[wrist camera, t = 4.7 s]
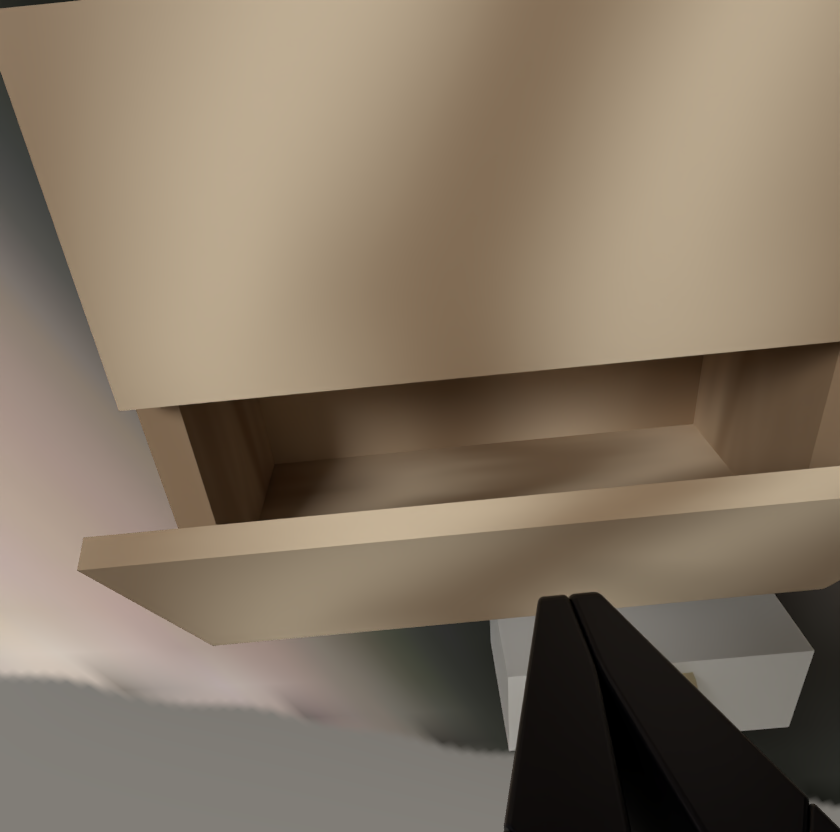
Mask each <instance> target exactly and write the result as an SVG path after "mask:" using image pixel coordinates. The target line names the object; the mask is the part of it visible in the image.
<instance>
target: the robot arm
mask: <svg viewBox="0 0 840 832" xmlns="http://www.w3.org/2000/svg"><path fill="white" fill-rule="evenodd" d="M504 832H840V828H839V827H838V826H837V825H836V824H835V823H834V822H832V820H831V819H830V818H829V817H828V816H827V815H826V814H825V813H824V812H823V811H822V810H821V809H820V808H819V807H818V806H817V805H815V804H810V805H809V799H808V797H807V796H806V795H805V794H804V793H803V792H802V791H801V790H800V789H799V788H798V787H797V786H796V785H795V784H794V783H793V782H792V781H791V780H790V779H789V778H788V777H787V776H786V775H785V774H784V773H783V772H782V771H781V770H780V769H779V768H778V767H777V766H776V765H774V764H773V763H772V762H771V761H770V760H769V759H768V758H767V757H766V756H765V755H764V754H763V753H762V752H761V751H760V750H759V749H758V748H757V747H756V746H755V745H754V744H753V743H752V742H751V741H750V740H749V739H748V738H747V737H746V736H745V735H744V734H743V733H742V732H741V731H740V730H739V729H738V728H737V727H736V726H735V725H734V724H733V723H732V722H731V721H730V720H729V719H728V718H727V717H726V716H725V715H724V714H723V713H722V712H721V711H720V710H719V709H718V708H716V707H715V706H714V705H713V704H712V703H711V702H710V701H709V700H708V699H707V698H706V697H705V696H704V695H703V694H702V693H701V692H700V691H699V690H698V689H697V688H696V687H695V686H694V685H693V684H692V683H691V682H690V681H689V680H688V679H687V678H686V677H685V676H684V675H683V674H682V673H681V672H680V671H679V670H678V669H677V668H676V667H675V666H674V665H673V664H672V663H671V662H670V661H669V660H668V659H667V658H666V657H665V656H664V655H663V654H662V653H661V652H660V651H658V650H657V649H656V648H655V647H654V646H653V645H652V644H651V643H650V642H649V641H648V640H647V639H646V638H645V637H644V636H643V635H642V634H641V633H640V632H639V631H638V630H637V629H636V628H635V627H634V626H633V625H632V624H631V623H630V622H629V621H628V620H627V619H626V618H625V617H624V616H623V615H622V614H621V613H620V612H619V611H618V610H617V609H616V608H615V607H614V606H613V605H612V604H611V603H610V602H609V601H608V600H607V599H606V598H605V597H604V596H602V595H601V594H600V593H598V592H586V593H575V594H572V595H570V596H569V598H568V597H567V596H566V595H553V596H543V597H540V598H539V600H538V603H537V609H536V616H535V623H534V629H533V636H532V643H531V649H530V656H529V663H528V669H527V676H526V682H525V689H524V696H523V702H522V709H521V716H520V722H519V729H518V736H517V742H516V749H515V756H514V762H513V769H512V776H511V783H510V789H509V795H508V802H507V809H506V815H505V823H504Z"/></svg>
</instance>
